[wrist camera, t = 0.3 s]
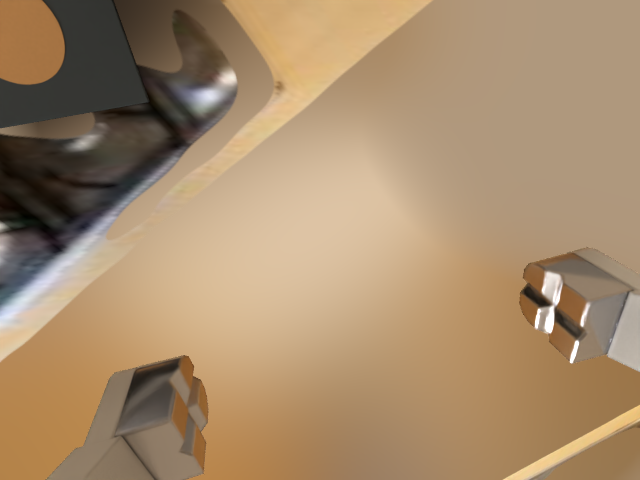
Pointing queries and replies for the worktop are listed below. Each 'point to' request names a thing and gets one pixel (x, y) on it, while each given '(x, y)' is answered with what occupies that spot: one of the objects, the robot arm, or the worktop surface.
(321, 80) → the worktop surface
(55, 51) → the centre mat
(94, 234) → the worktop surface
